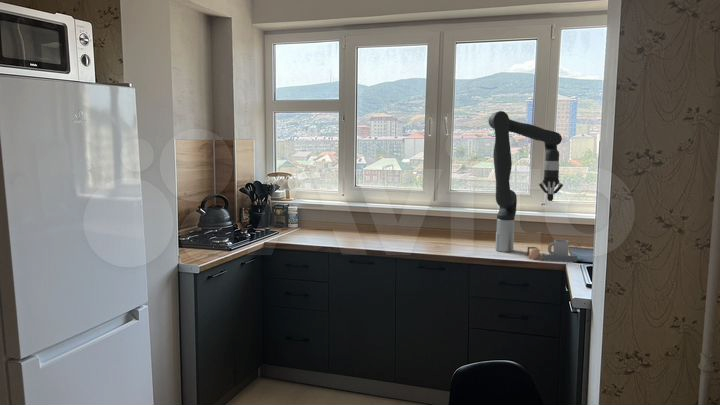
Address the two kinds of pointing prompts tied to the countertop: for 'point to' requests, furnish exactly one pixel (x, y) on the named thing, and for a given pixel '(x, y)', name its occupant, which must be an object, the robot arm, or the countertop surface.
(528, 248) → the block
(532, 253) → the tan rounded lump
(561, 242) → the cup
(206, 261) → the countertop surface
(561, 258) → the stand
